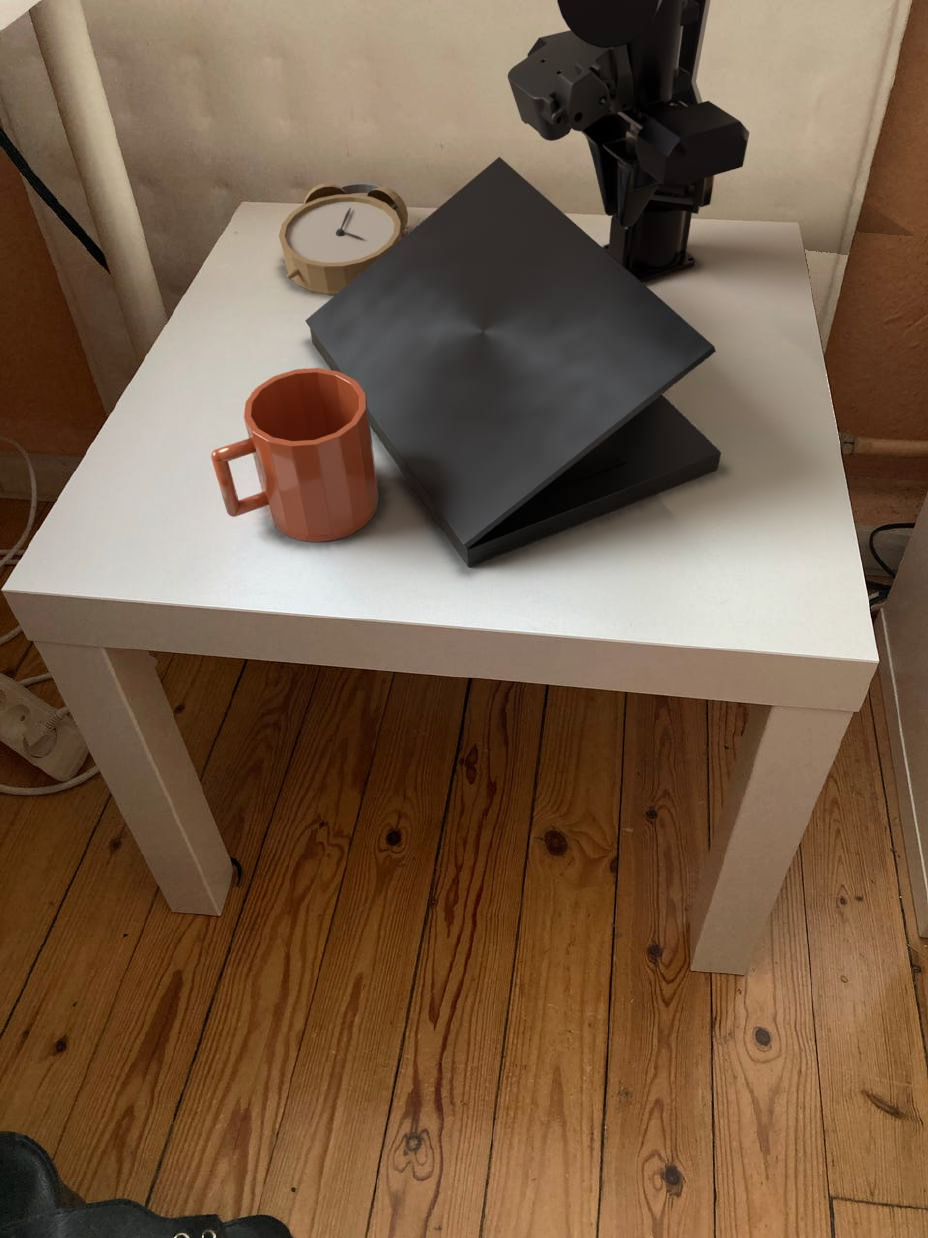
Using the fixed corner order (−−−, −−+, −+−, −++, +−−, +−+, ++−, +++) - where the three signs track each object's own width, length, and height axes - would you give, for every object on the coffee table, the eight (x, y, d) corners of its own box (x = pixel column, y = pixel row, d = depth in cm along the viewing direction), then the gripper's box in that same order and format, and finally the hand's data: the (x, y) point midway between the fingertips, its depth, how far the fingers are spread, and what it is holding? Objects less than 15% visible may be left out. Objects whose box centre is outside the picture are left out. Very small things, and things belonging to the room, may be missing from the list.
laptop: (524, 277, 94) (525, 258, 93) (717, 470, 77) (722, 451, 75) (312, 343, 89) (309, 324, 87) (468, 567, 71) (467, 549, 70)
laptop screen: (502, 162, 85) (499, 156, 84) (716, 352, 67) (714, 345, 67) (309, 325, 87) (304, 320, 87) (467, 550, 70) (463, 545, 69)
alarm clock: (262, 263, 92) (306, 155, 99) (274, 305, 96) (315, 199, 103) (383, 273, 90) (419, 163, 97) (390, 315, 94) (424, 207, 101)
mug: (353, 452, 79) (338, 355, 72) (396, 518, 75) (385, 420, 68) (216, 499, 76) (187, 403, 69) (252, 571, 72) (225, 475, 65)
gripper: (458, -38, 67) (465, 192, 79) (610, 65, 56) (591, 314, 68) (604, -69, 70) (589, 157, 82) (776, 23, 59) (730, 268, 71)
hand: (619, 219), depth 75 cm, fingers closed
